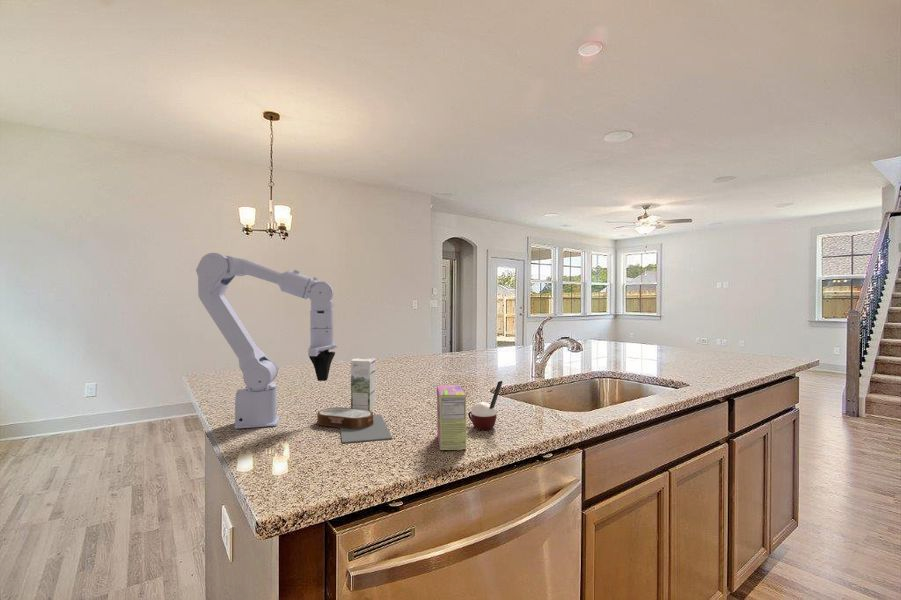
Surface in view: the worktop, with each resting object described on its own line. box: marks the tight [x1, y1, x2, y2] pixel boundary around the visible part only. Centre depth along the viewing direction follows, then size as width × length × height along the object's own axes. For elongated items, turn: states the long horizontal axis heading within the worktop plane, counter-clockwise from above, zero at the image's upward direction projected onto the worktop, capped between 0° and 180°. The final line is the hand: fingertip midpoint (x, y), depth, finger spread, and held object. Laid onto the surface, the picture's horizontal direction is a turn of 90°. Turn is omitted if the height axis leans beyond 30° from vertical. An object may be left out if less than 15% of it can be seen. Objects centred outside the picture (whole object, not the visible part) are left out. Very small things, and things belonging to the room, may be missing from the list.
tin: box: [316, 407, 374, 429], centre depth 109 cm, size 15×3×8 cm
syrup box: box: [350, 357, 376, 412], centre depth 123 cm, size 6×6×14 cm
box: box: [436, 384, 467, 451], centre depth 95 cm, size 10×6×12 cm, turn 5°
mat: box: [339, 414, 393, 444], centre depth 106 cm, size 11×20×1 cm, turn 17°
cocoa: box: [467, 380, 503, 431], centre depth 106 cm, size 10×6×12 cm, turn 29°
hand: (322, 380), depth 112 cm, fingers closed
